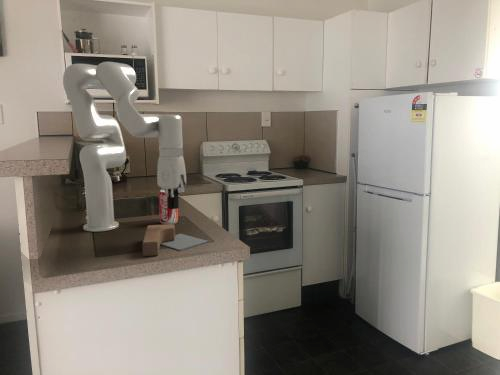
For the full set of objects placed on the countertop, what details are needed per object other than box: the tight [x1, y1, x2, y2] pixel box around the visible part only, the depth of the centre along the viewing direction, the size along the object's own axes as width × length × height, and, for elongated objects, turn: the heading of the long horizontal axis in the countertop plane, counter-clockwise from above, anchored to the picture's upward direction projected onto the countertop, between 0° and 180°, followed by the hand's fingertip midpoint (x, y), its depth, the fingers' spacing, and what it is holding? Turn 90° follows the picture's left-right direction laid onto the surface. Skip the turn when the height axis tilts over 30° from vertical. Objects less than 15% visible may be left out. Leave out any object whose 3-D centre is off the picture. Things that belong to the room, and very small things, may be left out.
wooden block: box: [141, 224, 176, 257], centre depth 132 cm, size 9×4×18 cm
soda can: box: [158, 189, 179, 225], centre depth 162 cm, size 7×7×13 cm
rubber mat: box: [160, 233, 209, 252], centre depth 137 cm, size 14×12×1 cm
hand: (173, 208), depth 137 cm, fingers closed
